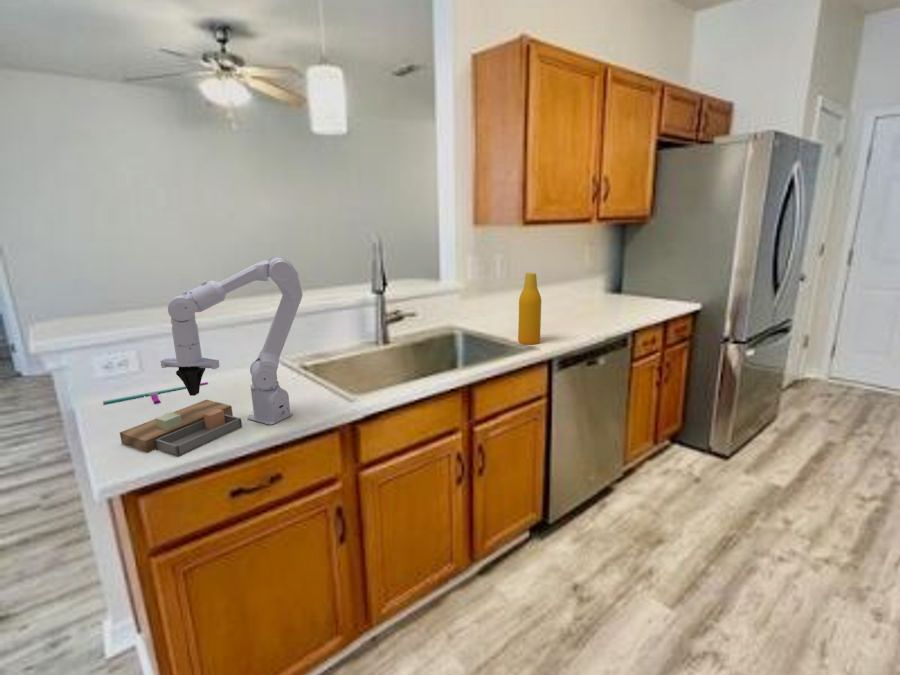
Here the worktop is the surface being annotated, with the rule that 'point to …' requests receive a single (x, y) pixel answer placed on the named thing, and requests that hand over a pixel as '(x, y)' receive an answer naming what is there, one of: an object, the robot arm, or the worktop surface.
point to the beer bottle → (529, 312)
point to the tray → (195, 436)
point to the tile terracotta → (214, 419)
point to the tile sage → (168, 421)
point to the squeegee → (152, 394)
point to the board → (149, 432)
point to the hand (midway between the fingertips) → (194, 394)
